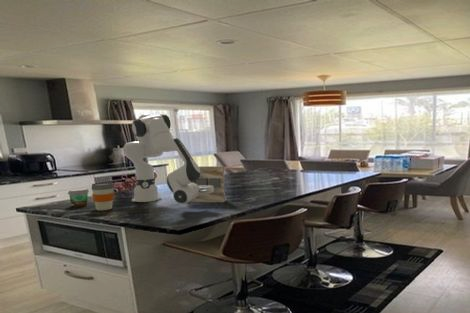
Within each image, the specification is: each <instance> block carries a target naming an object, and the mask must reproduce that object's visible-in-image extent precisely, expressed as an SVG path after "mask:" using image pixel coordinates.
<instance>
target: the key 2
mask: <svg viewBox="0 0 470 313" xmlns="http://www.w3.org/2000/svg"><path fill="white" fill-rule="evenodd" d="M210 185H212V186H214V187H221V185H220V178H211V179H210Z"/></svg>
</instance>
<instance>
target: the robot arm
mask: <svg viewBox="0 0 470 313" xmlns="http://www.w3.org/2000/svg"><path fill="white" fill-rule="evenodd" d="M171 128H172V126H171V119H170V117H169V116H168V114H164V113H160V114H153V115H151V114H149V113H143V114H141V115H139V117H138V118H136V119H134V120H133V121H132V123H131V130H132V132H133V134H134V136H135V138H136V139H135V141H131V142H126V143H124V146H123V147H122V152H123V155H124V157H126V158H127V159H129V160H130V162H132V164H133V165H134V168H135V174H136V179H135V185H136V186H135V187H134V189H133V197H132V199H131V202H137V203H149V202H155V201H158V200H159V201H160V200H161V199H162V198H161V196H159V192H158V186H156V178H155V175H154V174H155V173H154V166H153V165H152V164H151V163H148V162H146V161H144V159H145V158H157V157H161V156H162V155H163V154H164V153H169V152H177V153H178V155H179V157H180V158H181V159H182V161H183V163H184V164H183V165H182V166H180V167H178V168H177V169H175V170H173V171H172V172H169V173H168V174H167V176H166V184H167V186H168V188H169V190H170V192H171V193H173V199H174V200H175V202H177V203H178V204H186V203H187V204H188V203H191V202H190V201H191V200H193V199H195V198H197V197H198V196H199V194H209V193H212V192H214V186H212V185H197V184H195V183H191V182H194V181H196V180H198V179H199V177H200V174H201V170H200V168H199V167H198V166H199V165H198V164H197V163H196V161H195V160H194V158H193V157H192V155H191V153H190V152H189V151H188V149H187V148H186V146H185V145H184V143H183V142H182V141H181V140H180V139H179V138H177V137H174V136H173V135H172V133H171V130H170V129H171Z"/></svg>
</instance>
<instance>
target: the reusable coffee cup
mask: <svg viewBox="0 0 470 313" xmlns="http://www.w3.org/2000/svg"><path fill="white" fill-rule="evenodd" d="M114 189H115V184H114V182H112V181H110V182H109V181H104V182H96V183H92V184H91V192H92V198H93V202H94V205H95V210H96V211H107V210H111V209H113V201H114V196H115V191H114Z"/></svg>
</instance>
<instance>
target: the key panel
mask: <svg viewBox="0 0 470 313" xmlns="http://www.w3.org/2000/svg"><path fill="white" fill-rule="evenodd" d="M198 167H199V168H200V170H201V174H200V177H199V178H208V185H210V179H211V178H220V185H221V187H214V192H212V193H209V194H199V196H198V197H197V198H195V199H193V200H191V201H190V202H189V203H191V202H193V203H225V202H226V201H227V196H226V189H225V187H226V186H225V184H226V183H225V166H224V165H214V166H213V165H210V166H209V165H208V166H207V165H205V166H204V165H203V166H202V165H201V166H199V165H198ZM196 184H197V180H196Z"/></svg>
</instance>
